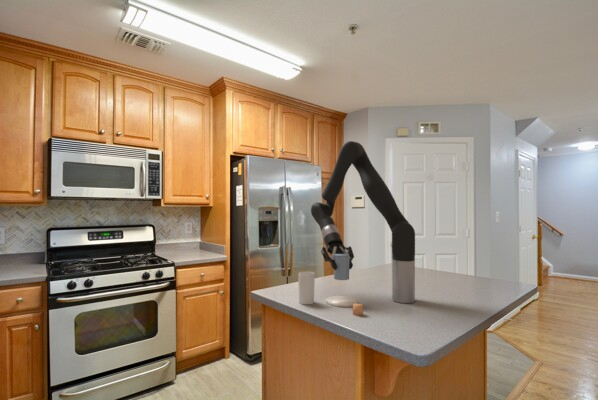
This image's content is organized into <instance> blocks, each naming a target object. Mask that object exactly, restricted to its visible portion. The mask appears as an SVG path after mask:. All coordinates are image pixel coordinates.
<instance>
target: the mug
mask: <svg viewBox="0 0 598 400" xmlns="http://www.w3.org/2000/svg"><path fill="white" fill-rule="evenodd" d="M315 277H316V274H315V272H313V271H300V272H298V303H299V304H300V305H305V306H306V305H312V304H314V303H315V279H316V278H315Z"/></svg>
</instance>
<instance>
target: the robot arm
mask: <svg viewBox="0 0 598 400" xmlns="http://www.w3.org/2000/svg"><path fill="white" fill-rule="evenodd" d="M351 166H353V167H354V168H355V170H356V171H357V173H358V175H359V177H360V180H361V184H362V186H363V189H364V192H365V193H366V195H367V197H368V198H369V201H370V202H371V203H372V205H373V206H374V207H375V208H376V209H377V210H378V212H379V213H380V215H382V217H383V218H384V219H385V221H386V223H387V224H388V225H387V226H388V227H389V229H390V232H391V261H392V263H391V268H392V269H391V272H392V273H391V274H392V275H391V277H392V278H391V280H392V281H391V286H392V287H391V290H392V291H391V292H392V294H391V295H392V297H391V299H392V301H393V302H396V303H400V304H413V303H415V302H416V232H415V229H414V227H413V226H412V224H411V223H410V222H409V221H408V220H407V218H405V216H404V215H403V213H402V211H400V209H399V207H398V205H397V203H396V200H395V198H394V196H393V194H392V191H390V189H389V187H388V186H387V184H386V182H385V181H384V179H383V178H382V177H381V174H380V173H379V172H378V171H377V170H376V168H375V167H374V165H373V164H372V162H371V160H370V158H369V156H368V154H367V152H366V149H365V147H364V146H363V145H362V144H361V143H360V142H358V141H351V140H350V141H346V142H344V143H343V144H342V146H341V147H340V150H339V153H338V156H337V160H336V163H335V166H334V168H333V171H332V173H331V176H330V178H329V179H328V181H327V184H326V186H325V188H324V189H323V192H322V194H321V198H322V199H323V200H324V201H326V203H323V202H314V203H313V204H312V205H311V207H310V213H311V216H312V217H313V219H314V220H315V222H316V223H317V224H318V226H319V228H320V232H321V236H322V239H323V242H324V244H325V246H322V248H321V251H320V252H321V255H322V256H323V259H324V261H325V262H329V263H330V266H331V268H332V269H333V271H334V270H336V269H337V265H336V262H335V260H334V255H335V254H349V270H351V269H352V268H353V266H354V263H353V262H352V261H353V259H354V257H355V255H354V252H353V248H352V247H351V246H348V247H346V245H345V246H344V242H343V239H342V237H341V235H340V232H339V230H338V228H337V226H336V224H335V221H334V219H333V218H332V215H333V214H334V211H335V210H334V209H335V204H336V200H337V198H338V196H339V194H340V193H341V191H342V188H343V185H344V181H345V178H346V176H347V175H346V174H347V173H348V170H349V169H350V167H351ZM329 254H330V255H329Z"/></svg>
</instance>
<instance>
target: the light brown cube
mask: <svg viewBox="0 0 598 400" xmlns="http://www.w3.org/2000/svg"><path fill="white" fill-rule="evenodd" d="M352 315H353V316H355V317H362V316H363V315H364V305H363V304H362V303H358V304H353V306H352Z"/></svg>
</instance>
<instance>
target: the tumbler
mask: <svg viewBox="0 0 598 400" xmlns="http://www.w3.org/2000/svg"><path fill="white" fill-rule="evenodd" d="M334 260H335V262H336V265H337V269H336V270H334V269H333V279H334V280H336V281H337V280H338V281H349V280H350V269H349V254H335V255H334Z"/></svg>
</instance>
